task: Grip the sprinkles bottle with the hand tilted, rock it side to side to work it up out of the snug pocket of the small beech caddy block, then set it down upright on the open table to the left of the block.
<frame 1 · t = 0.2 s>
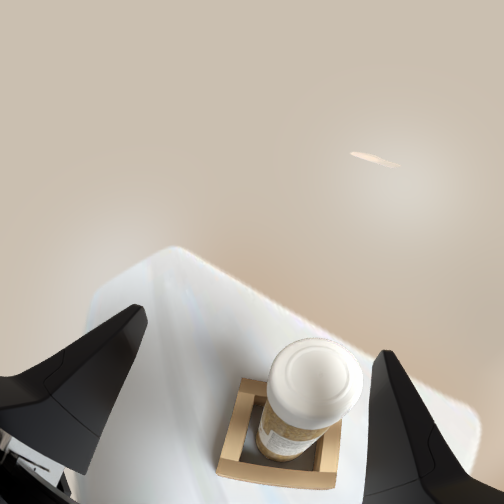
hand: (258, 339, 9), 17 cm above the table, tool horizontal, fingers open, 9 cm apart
caddy block: (281, 440, 20), on the table
sprinkles bottle: (281, 440, 20), resting in caddy block
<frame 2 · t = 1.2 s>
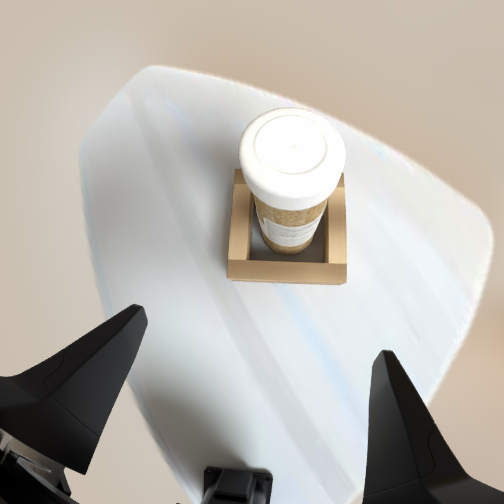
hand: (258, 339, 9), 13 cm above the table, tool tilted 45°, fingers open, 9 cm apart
caddy block: (288, 230, 24), on the table
sprinkles bottle: (288, 230, 24), resting in caddy block
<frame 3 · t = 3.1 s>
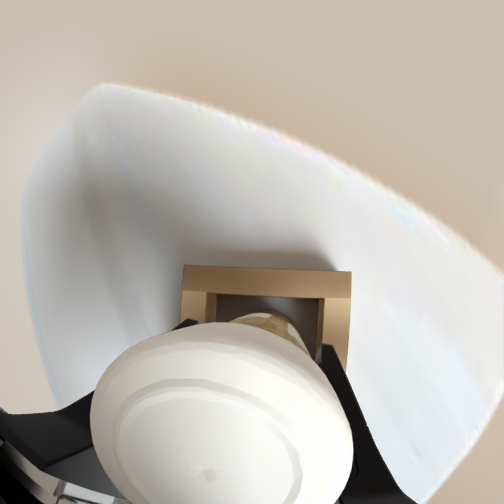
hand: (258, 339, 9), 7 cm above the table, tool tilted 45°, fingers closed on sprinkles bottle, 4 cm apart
caddy block: (264, 347, 16), on the table
sprinkles bottle: (264, 346, 16), resting in caddy block, touching gripper
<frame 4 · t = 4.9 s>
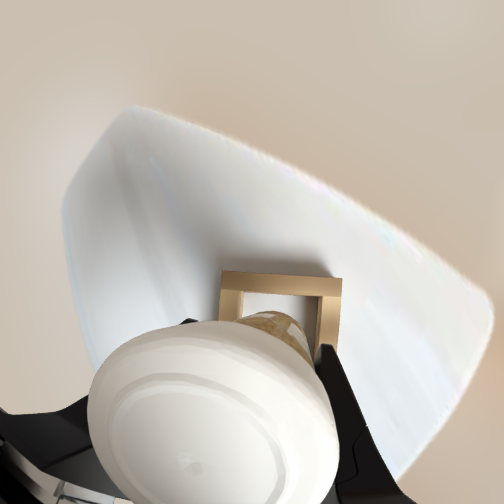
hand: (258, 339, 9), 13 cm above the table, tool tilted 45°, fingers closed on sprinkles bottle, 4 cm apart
caddy block: (278, 331, 22), on the table
sprinkles bottle: (270, 347, 16), point 6 cm above the table, touching gripper
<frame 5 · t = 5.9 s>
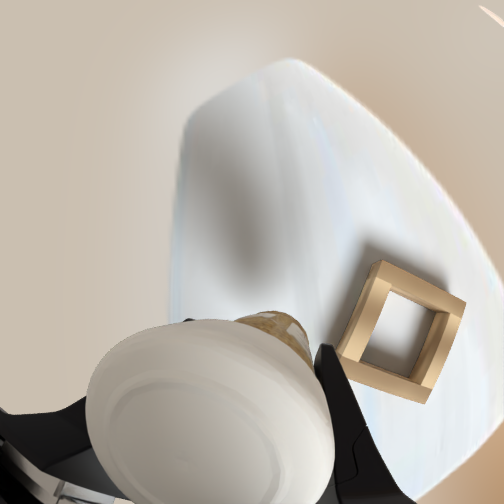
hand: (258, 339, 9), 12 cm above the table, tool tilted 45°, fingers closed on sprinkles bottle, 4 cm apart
caddy block: (396, 334, 20), on the table
sprinkles bottle: (272, 347, 16), point 5 cm above the table, touching gripper
when the fingers open (8 cm above the table, at t = 6.9 s): sprinkles bottle drops 1 cm, on the table.
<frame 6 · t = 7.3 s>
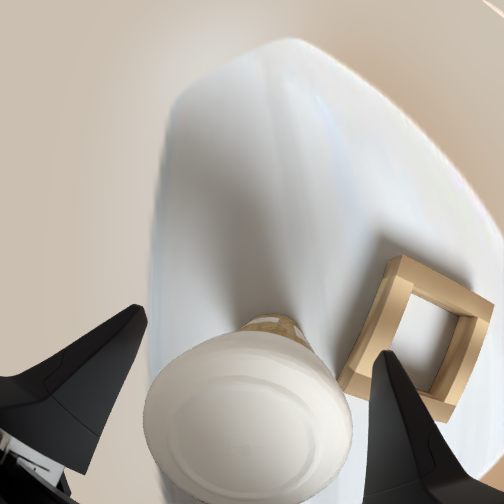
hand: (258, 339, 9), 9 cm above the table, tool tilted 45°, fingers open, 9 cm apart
caddy block: (416, 343, 16), on the table
sprinkles bottle: (271, 347, 18), on the table
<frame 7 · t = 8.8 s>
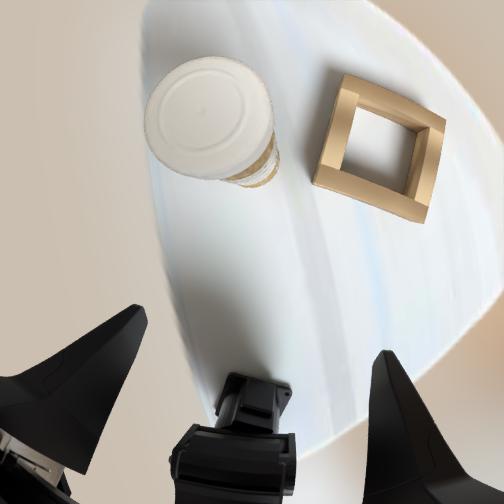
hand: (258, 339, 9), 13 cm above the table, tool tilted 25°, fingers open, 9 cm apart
caddy block: (378, 151, 20), on the table
sprinkles bottle: (251, 161, 21), on the table
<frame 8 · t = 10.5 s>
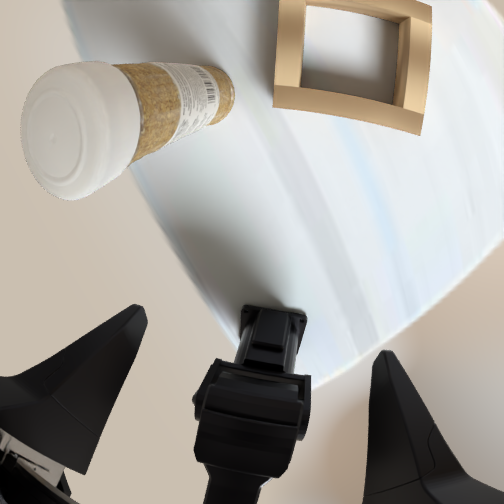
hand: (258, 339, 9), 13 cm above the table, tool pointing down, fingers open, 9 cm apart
caddy block: (351, 51, 13), on the table
sprinkles bottle: (206, 95, 17), on the table
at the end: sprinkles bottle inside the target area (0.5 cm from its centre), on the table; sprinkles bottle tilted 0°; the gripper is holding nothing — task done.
